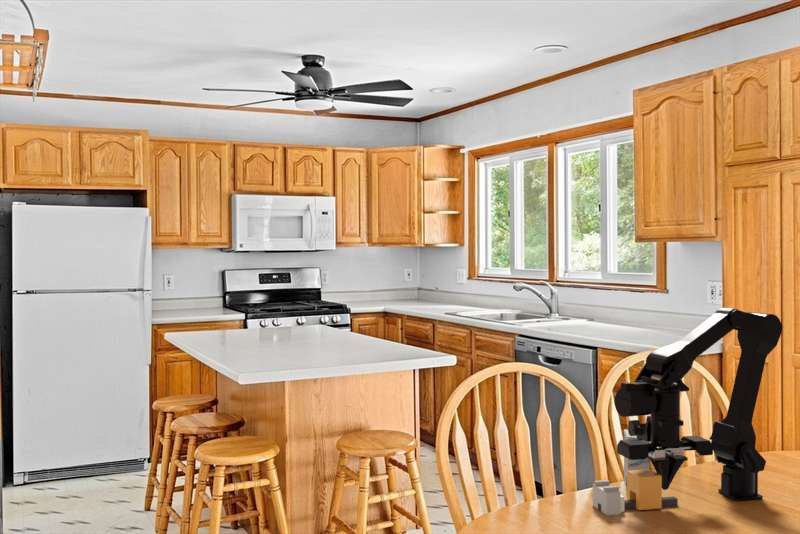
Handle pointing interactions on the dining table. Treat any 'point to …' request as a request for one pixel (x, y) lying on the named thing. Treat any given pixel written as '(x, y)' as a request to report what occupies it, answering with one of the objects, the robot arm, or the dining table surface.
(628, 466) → the ink box
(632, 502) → the bar
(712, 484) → the dining table surface
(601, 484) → the grey i-beam piece
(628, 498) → the notched orange cube
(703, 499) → the dining table surface
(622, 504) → the cream flat block
